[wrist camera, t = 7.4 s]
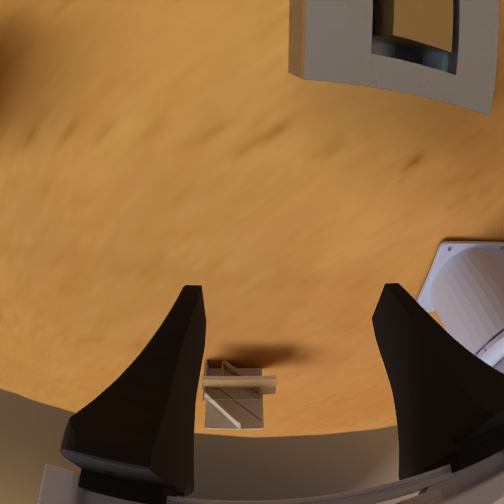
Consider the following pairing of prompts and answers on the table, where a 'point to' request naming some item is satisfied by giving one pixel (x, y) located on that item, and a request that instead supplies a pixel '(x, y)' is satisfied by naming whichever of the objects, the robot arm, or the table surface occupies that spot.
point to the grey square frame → (396, 52)
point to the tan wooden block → (414, 23)
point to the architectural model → (235, 396)
